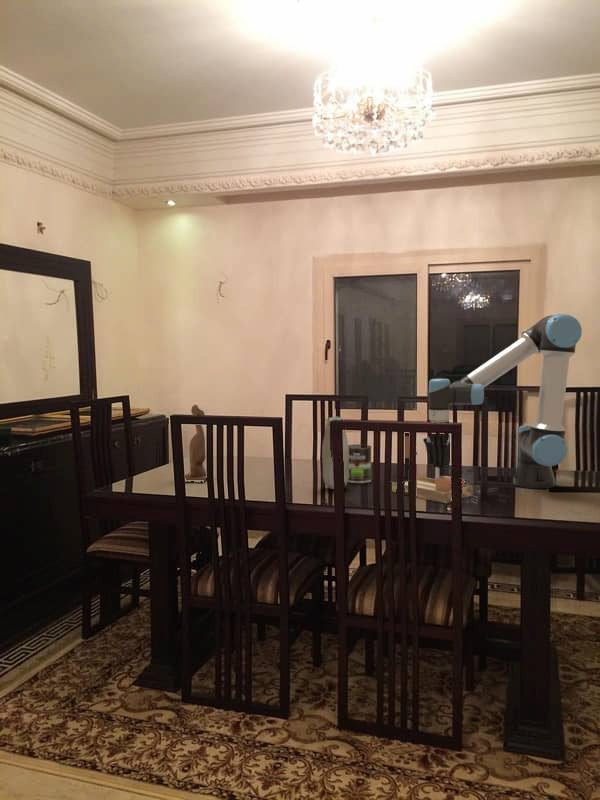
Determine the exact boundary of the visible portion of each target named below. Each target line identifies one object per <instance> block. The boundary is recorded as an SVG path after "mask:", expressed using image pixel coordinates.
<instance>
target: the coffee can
mask: <svg viewBox="0 0 600 800" xmlns="http://www.w3.org/2000/svg"><path fill="white" fill-rule="evenodd" d="M361 445H362V444H348V446H349V479H348V483H351V484H352V483H353V484H366V483H370V482H372V446H371V445H368V444H366V445H367V448H361Z"/></svg>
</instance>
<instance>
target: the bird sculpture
mask: <svg viewBox="0 0 600 800" xmlns="http://www.w3.org/2000/svg"><path fill="white" fill-rule="evenodd" d="M190 412H191V415H192V416H193V415H197V416H205V417H206V415H205V411H203V410H202V409H200V408H199V406H198V405H197V404H194V405H192V407H191V410H190ZM195 430H196V433H195V434H194V435H193V437H192V438H191V440H190V442H189V447H188V448H189V467H190V468H189V471H190V472H189V473H187V474H184V476H185V478H186V480H205V481H206V480H207V478H206V474H207V471H206V469H205V466H204V462H205V461H206V438H205V431H204V427H203V425H202V424H201V425H196V424H195Z"/></svg>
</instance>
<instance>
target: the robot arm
mask: <svg viewBox="0 0 600 800" xmlns="http://www.w3.org/2000/svg"><path fill="white" fill-rule="evenodd" d="M582 332H583V329H582V325H581V323H580V322H579V320H578V319H577V318H576V317H574V316H573V315H570V314H567V313H566V314H565V313H557V314H553V315H551V314H550V315H547V316H544V317H543V318H541V319H540V320H538V321H537V322H536V323H534V324H533V325H532V326H531V327H530V328H529V329H527V330H526V331H524V332H523V333H522V335H521V337H520V338H519V339H517V340H516V341H515V342H513V343H511V344H510V345H509V346H508V347H506V348H504V349H503V350H501V351H500V352H499V353H497V354H496V355H493V357H492V358H490V359H488V360H487V361H485V362H484V363H482V364H481V365H480V366H478V367H477V368H476V369H474V370H472V371H471V372H470V373H468V374H467V375H465V376H464V377H462V378H461V379H460V380H457V381H454V382H453V383H451V382H450V379H449V378H432V379H430V380H429V383H428V392H427V393H428V420H429V422H434V423H450V419H451V418H450V417H451V416H450V415H451V413H450V412H451V411H450V410H451V409H450V406H451V405H465V406H466V405H471V406H475V405H481V404H483V403H484V401H485V400H484V399H485V398H484V397H485V389H484V388H485V387H488V385H490V384H491V383H493V382H494V381H496V380H497V379H498V378H499V379H500V377H501V376H502V377H503V375H505V374H506V373H507V372H509V371H510V370H512V369H514V368H515V367H516V366H518V365H519V364H520V363H522V362H524V361H525V360H526V359H528V358H530V357H531V356H533V355H534V354H535V355H538V354H540V353H541V354H542V355H543V358H542V359H543V360H542V370H541V376H540V377H541V378H540V386H539V393H538V394H539V395H538V403H537V411H536V420H535V422H534V423H533V424H531V425H521V426H519V428H518V432H517V434H518V452H517V453H518V457H517V458H518V460H517V462H518V463H517V466H516V470H515V473H514V476H513V478H512V479H513V485H515V486H518V487H521V488H525V489H527V488H528V489H550V488H554V487H555V486H556V478H555V476H554V471H553V469H552V467H554V466H557V465H559V464H560V463H561V462H563V461H564V460H565V458H566V456H567V454H568V445H567V443H566V441H565V436H566V428H565V427H564V426H563V425H562V422H563V415H564V406H565V397H566V391H567V390H566V389H567V381H568V373H569V366H570V358H571V357H572V356H574V354H576V347H577V346H576V345H577V344H578V342H579V341H580V340H581V338H582V334H583V333H582ZM450 439H451V436H450V434H449V435H448V440H447V442H446V438H445V435H444V434H440V435H439V438H438V437H437V435H436V434H431V435H430V436H429V435H428V436H427V437H425V438H423V443H424V444H425V449H426V454H427V455H426V456H427V459H428V464H429V465H432V466H433V475H434V479H435V485H436V478H439V477H443V476H446V475H445V471H446V470H445V468H446V467H448V466H450V464H451V460H450Z"/></svg>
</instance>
